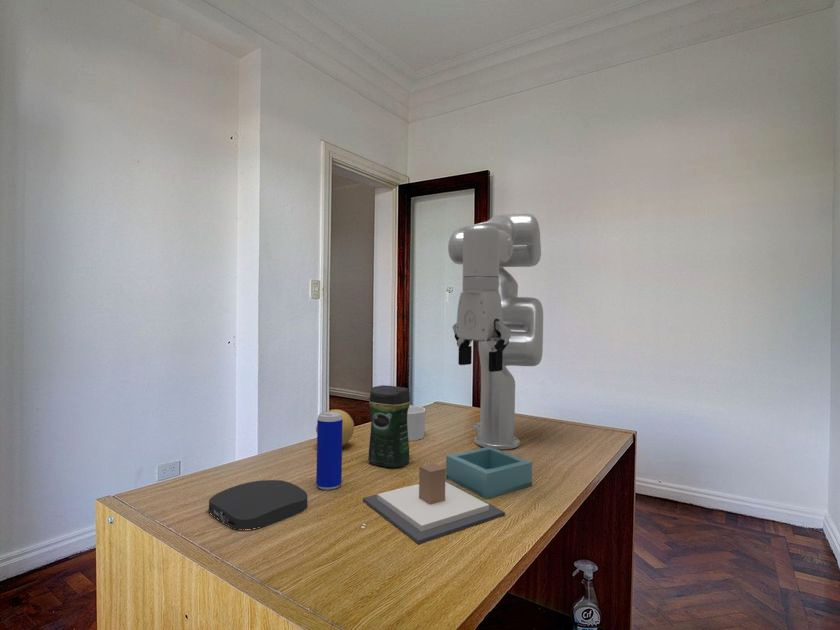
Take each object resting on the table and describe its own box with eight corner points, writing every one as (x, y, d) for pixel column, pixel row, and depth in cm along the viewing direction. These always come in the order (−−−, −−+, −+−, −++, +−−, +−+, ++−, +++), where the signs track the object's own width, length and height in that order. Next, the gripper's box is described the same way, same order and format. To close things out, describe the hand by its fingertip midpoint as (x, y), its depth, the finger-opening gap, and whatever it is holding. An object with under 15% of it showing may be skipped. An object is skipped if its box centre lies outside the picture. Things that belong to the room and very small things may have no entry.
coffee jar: (414, 461, 110) (415, 385, 110) (397, 471, 103) (398, 390, 103) (381, 454, 115) (382, 382, 115) (362, 463, 108) (364, 386, 108)
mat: (362, 501, 87) (362, 498, 87) (441, 481, 97) (441, 478, 97) (418, 544, 71) (418, 540, 71) (504, 515, 82) (504, 511, 82)
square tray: (446, 478, 99) (446, 455, 99) (489, 467, 107) (489, 446, 107) (486, 499, 89) (486, 473, 88) (531, 485, 96) (532, 462, 96)
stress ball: (346, 456, 116) (367, 426, 122) (322, 431, 112) (345, 401, 118) (325, 453, 123) (346, 425, 129) (302, 429, 119) (325, 401, 125)
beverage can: (345, 483, 95) (347, 412, 95) (333, 492, 91) (334, 417, 90) (324, 479, 97) (325, 410, 97) (311, 488, 92) (312, 415, 92)
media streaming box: (316, 508, 84) (316, 492, 84) (241, 538, 73) (241, 519, 73) (272, 487, 93) (272, 473, 93) (200, 510, 82) (201, 494, 82)
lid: (377, 499, 86) (377, 462, 86) (439, 483, 95) (440, 450, 95) (421, 531, 74) (422, 489, 74) (489, 510, 82) (489, 472, 82)
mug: (425, 442, 127) (425, 413, 127) (387, 441, 127) (388, 412, 127) (425, 429, 140) (425, 403, 140) (391, 428, 140) (392, 403, 140)
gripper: (441, 286, 99) (440, 363, 100) (495, 285, 84) (494, 375, 85) (468, 286, 103) (467, 361, 104) (524, 285, 88) (522, 372, 89)
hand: (479, 367), depth 94 cm, fingers open, 9 cm apart
